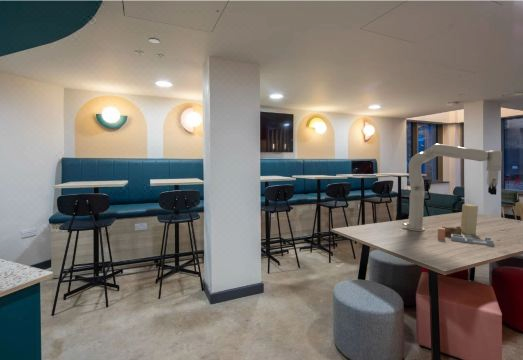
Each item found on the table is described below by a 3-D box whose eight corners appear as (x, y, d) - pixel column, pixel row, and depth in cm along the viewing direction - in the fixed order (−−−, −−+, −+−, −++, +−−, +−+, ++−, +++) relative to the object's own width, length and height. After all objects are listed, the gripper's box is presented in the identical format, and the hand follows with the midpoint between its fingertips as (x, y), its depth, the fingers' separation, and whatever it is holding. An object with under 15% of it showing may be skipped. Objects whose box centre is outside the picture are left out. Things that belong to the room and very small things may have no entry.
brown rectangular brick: (437, 238, 193) (438, 228, 193) (437, 237, 196) (438, 227, 196) (444, 239, 191) (445, 229, 190) (444, 238, 194) (445, 228, 194)
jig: (451, 240, 189) (451, 235, 189) (450, 237, 196) (451, 232, 196) (494, 246, 177) (494, 241, 176) (492, 242, 184) (492, 237, 184)
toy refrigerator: (477, 234, 202) (479, 206, 201) (465, 234, 204) (467, 205, 202) (471, 231, 210) (473, 204, 208) (460, 231, 211) (462, 204, 210)
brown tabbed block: (441, 235, 202) (442, 225, 202) (441, 233, 206) (442, 224, 206) (461, 237, 196) (461, 227, 195) (460, 235, 200) (461, 226, 200)
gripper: (485, 168, 199) (483, 192, 200) (488, 169, 184) (486, 194, 186) (498, 168, 195) (497, 192, 196) (503, 169, 180) (501, 195, 182)
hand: (492, 193), depth 191 cm, fingers open, 9 cm apart
